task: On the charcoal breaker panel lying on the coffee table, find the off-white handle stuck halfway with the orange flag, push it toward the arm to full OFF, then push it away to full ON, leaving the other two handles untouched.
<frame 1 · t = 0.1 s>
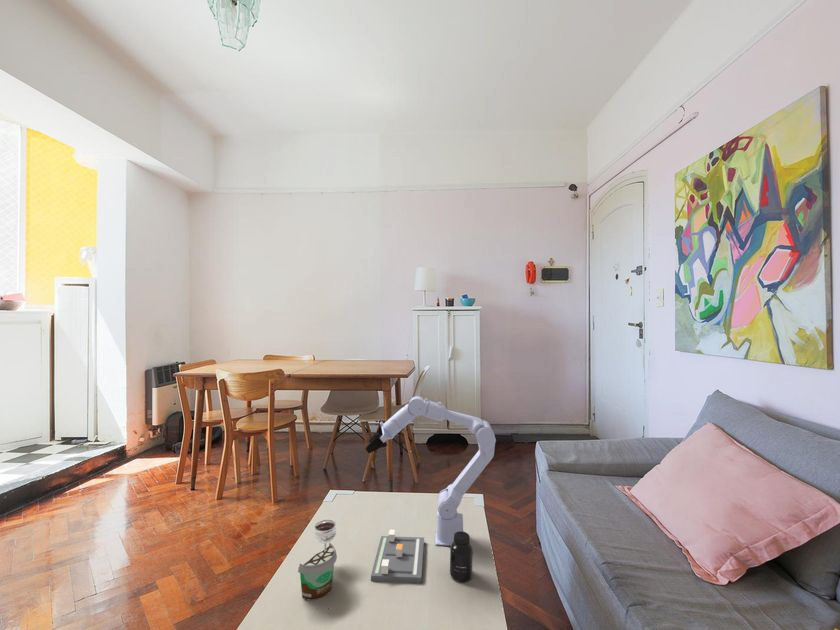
hand: (369, 447, 133), 32 cm above the table, tool tilted 50°, fingers open, 7 cm apart
supplement bottle: (461, 575, 113), on the table
wineglass: (325, 563, 118), on the table
breaker 2: (391, 535, 128), point 3 cm above the table, slide at 7.0 cm
breaker panel: (399, 559, 120), on the table
breaker tripped: (399, 550, 120), point 3 cm above the table, slide at 3.5 cm
food container: (322, 592, 106), on the table
breaker 1: (385, 566, 112), point 3 cm above the table, slide at 7.0 cm
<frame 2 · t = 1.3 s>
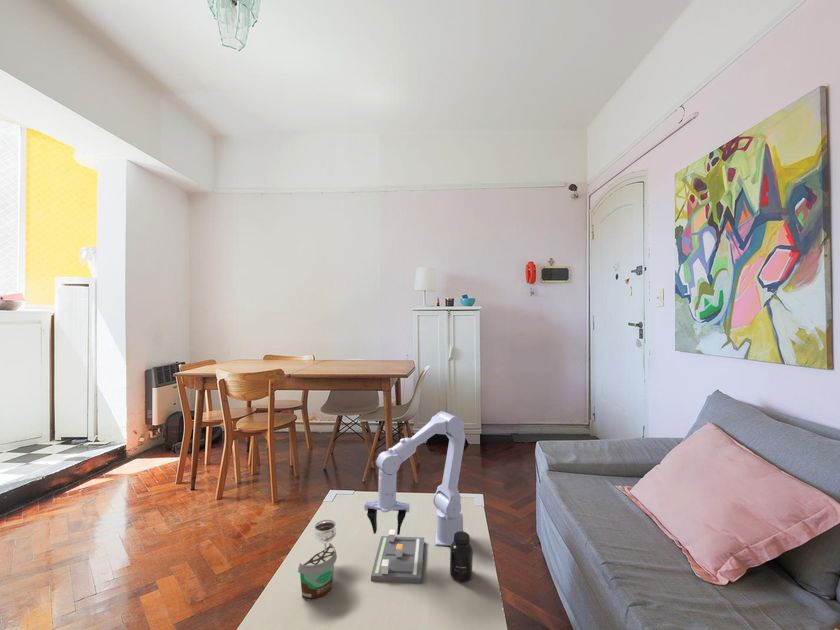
hand: (386, 532, 120), 9 cm above the table, tool pointing down, fingers open, 7 cm apart
nothing on the table moved.
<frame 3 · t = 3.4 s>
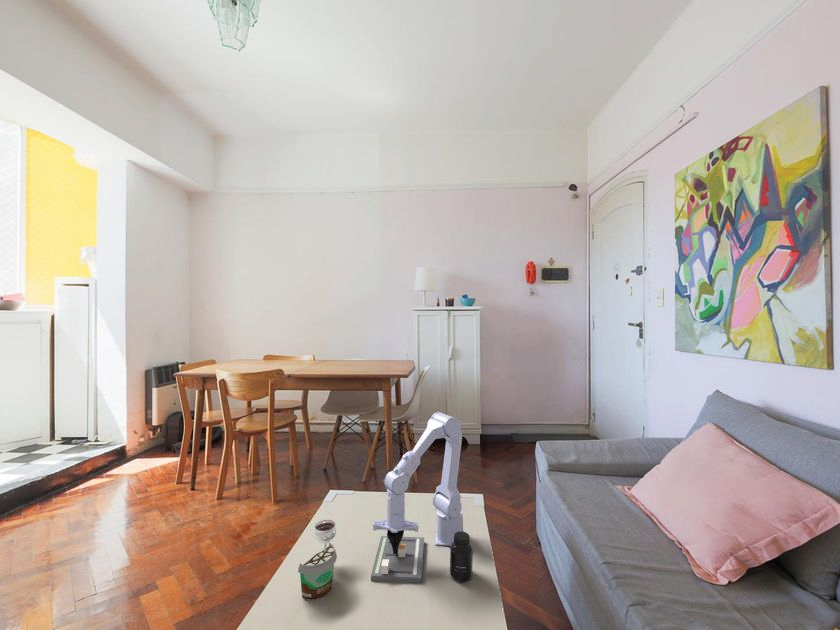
hand: (395, 552, 120), 2 cm above the table, tool pointing down, fingers closed
breaker tripped: (402, 550, 120), point 3 cm above the table, slide at 2.6 cm, touching gripper
everything else where it was.
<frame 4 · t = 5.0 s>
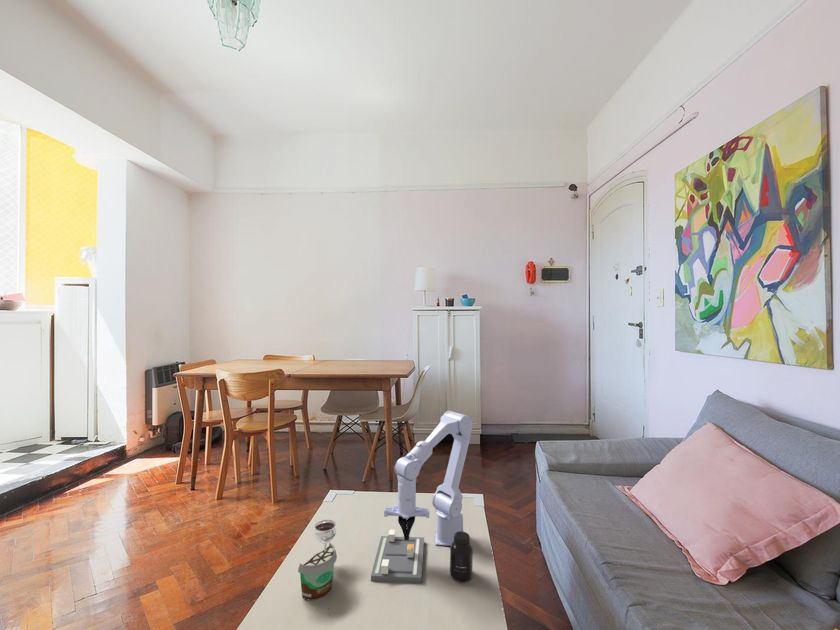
hand: (406, 538, 120), 7 cm above the table, tool pointing down, fingers closed
breaker tripped: (410, 550, 120), point 3 cm above the table, slide at -0.1 cm
everything else where it was.
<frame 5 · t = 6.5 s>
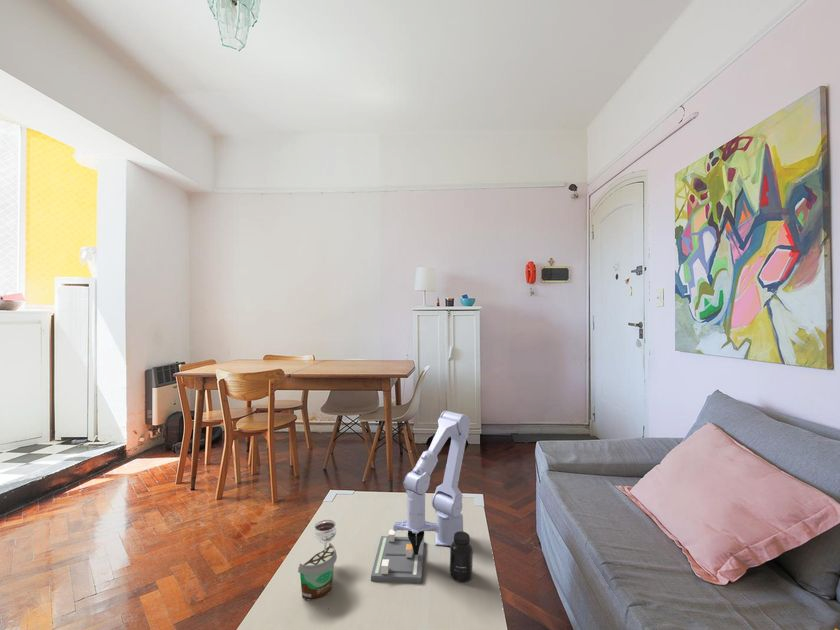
hand: (416, 552, 120), 2 cm above the table, tool pointing down, fingers closed
breaker tripped: (409, 550, 120), point 3 cm above the table, slide at 0.3 cm, touching gripper
everything else where it was.
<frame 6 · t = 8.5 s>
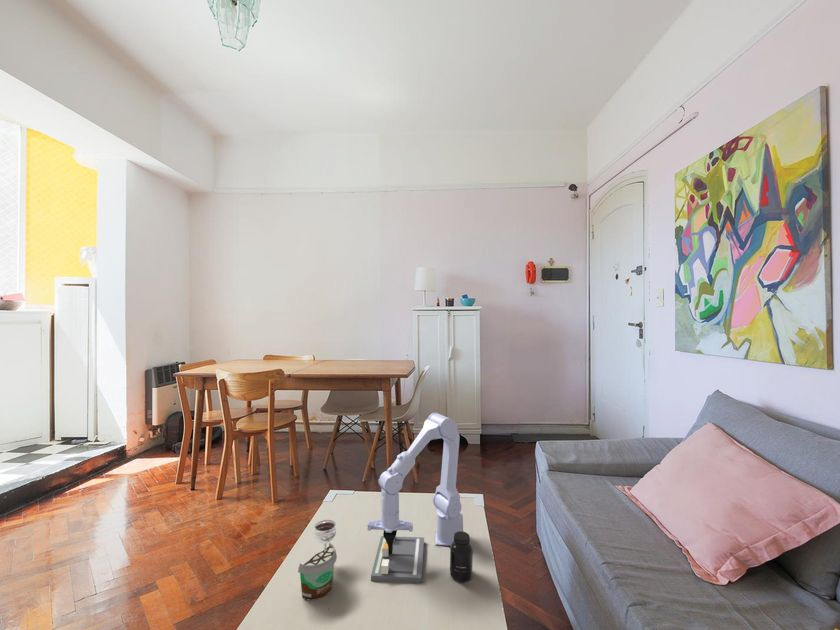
hand: (390, 552, 120), 2 cm above the table, tool pointing down, fingers closed, pressing on breaker tripped
breaker tripped: (385, 549, 120), point 3 cm above the table, slide at 7.9 cm, touching gripper
everything else where it was.
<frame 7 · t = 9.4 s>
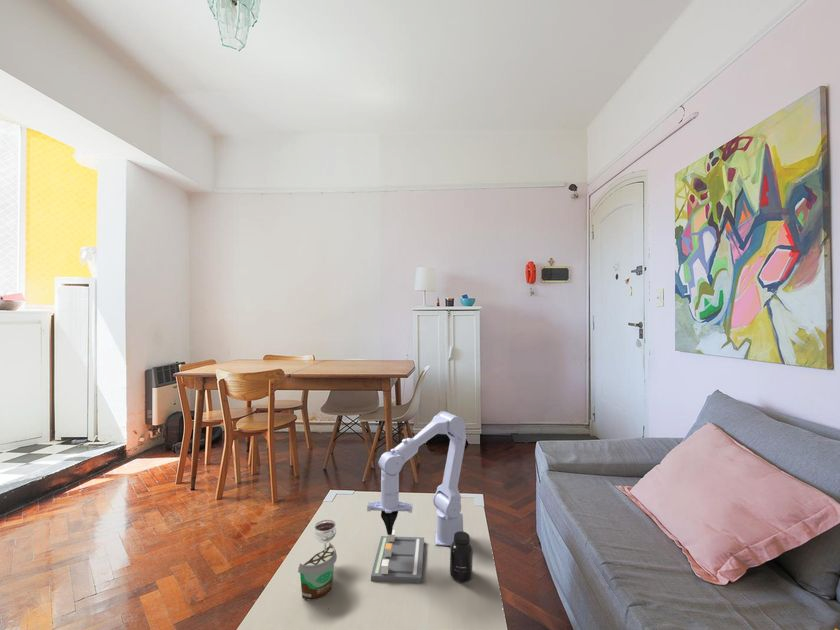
hand: (389, 533, 121), 8 cm above the table, tool pointing down, fingers closed
breaker tripped: (388, 549, 120), point 3 cm above the table, slide at 7.0 cm
everything else where it was.
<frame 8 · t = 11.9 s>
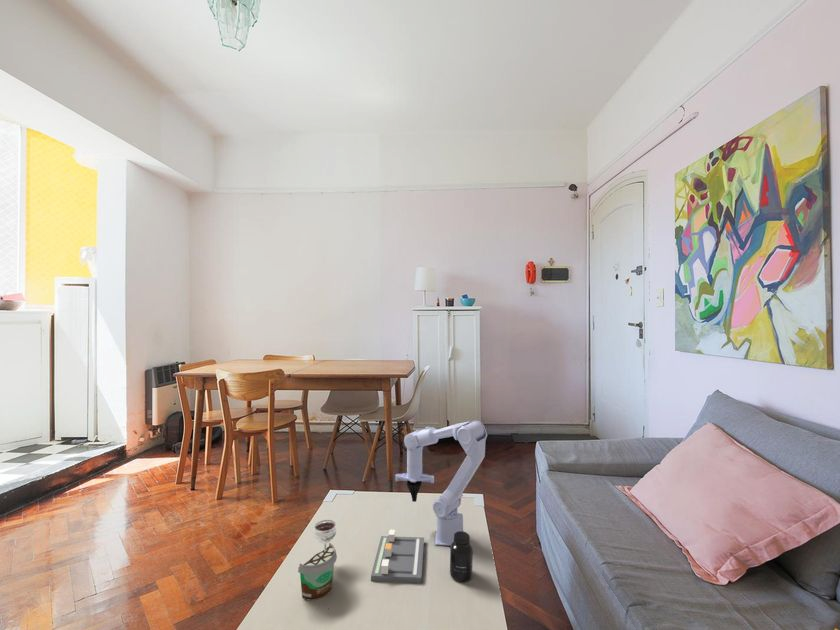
hand: (414, 500, 140), 9 cm above the table, tool pointing down, fingers closed
nothing on the table moved.
at the end: breaker tripped slide at 7.0 cm; breaker 1 slide at 7.0 cm; breaker 2 slide at 7.0 cm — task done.
